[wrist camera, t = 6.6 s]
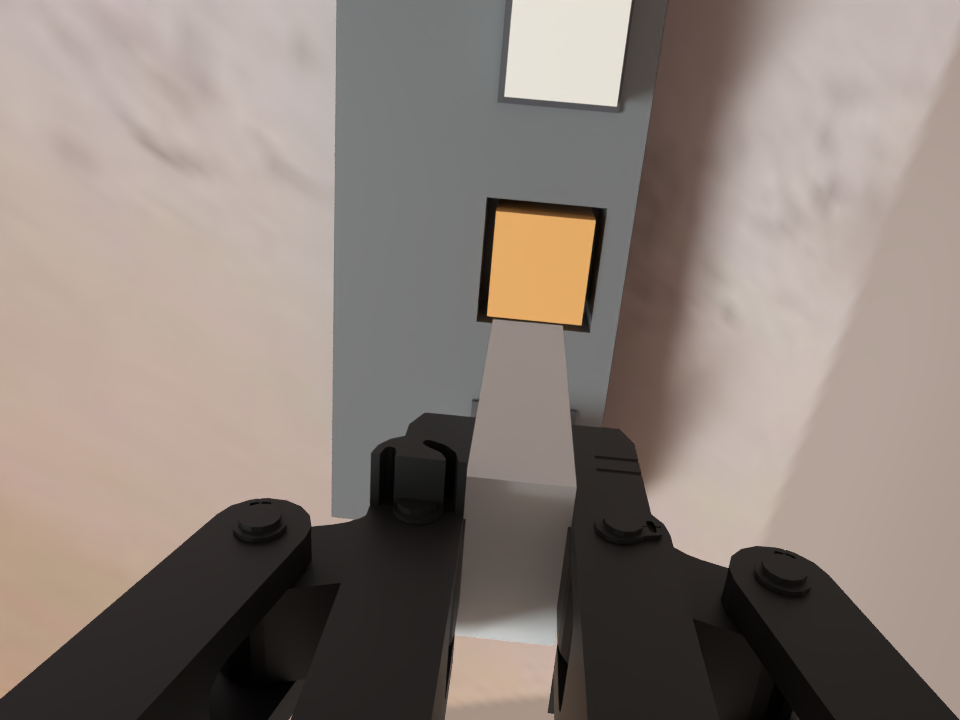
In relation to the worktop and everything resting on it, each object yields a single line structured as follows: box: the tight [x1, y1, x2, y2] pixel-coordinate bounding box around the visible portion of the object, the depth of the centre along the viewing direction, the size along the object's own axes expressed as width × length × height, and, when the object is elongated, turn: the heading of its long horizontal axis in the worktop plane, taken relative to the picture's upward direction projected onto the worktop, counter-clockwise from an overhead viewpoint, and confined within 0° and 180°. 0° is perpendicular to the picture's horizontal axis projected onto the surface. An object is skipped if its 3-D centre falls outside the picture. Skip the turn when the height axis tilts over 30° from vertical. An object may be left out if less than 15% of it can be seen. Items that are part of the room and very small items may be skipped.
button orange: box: [487, 199, 596, 325], centre depth 30 cm, size 4×4×3 cm
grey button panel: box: [332, 0, 668, 519], centre depth 30 cm, size 24×11×6 cm, turn 175°
